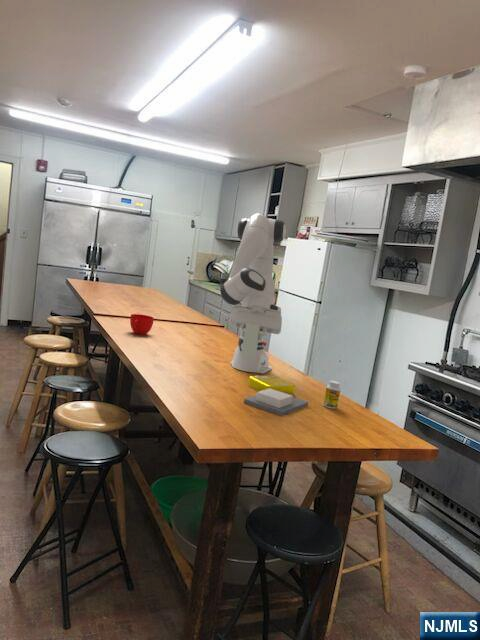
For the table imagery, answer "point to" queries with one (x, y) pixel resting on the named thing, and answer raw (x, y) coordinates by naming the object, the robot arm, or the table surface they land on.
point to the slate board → (277, 410)
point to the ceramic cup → (141, 323)
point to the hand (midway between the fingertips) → (251, 337)
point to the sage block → (250, 340)
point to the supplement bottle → (332, 395)
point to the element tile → (271, 384)
